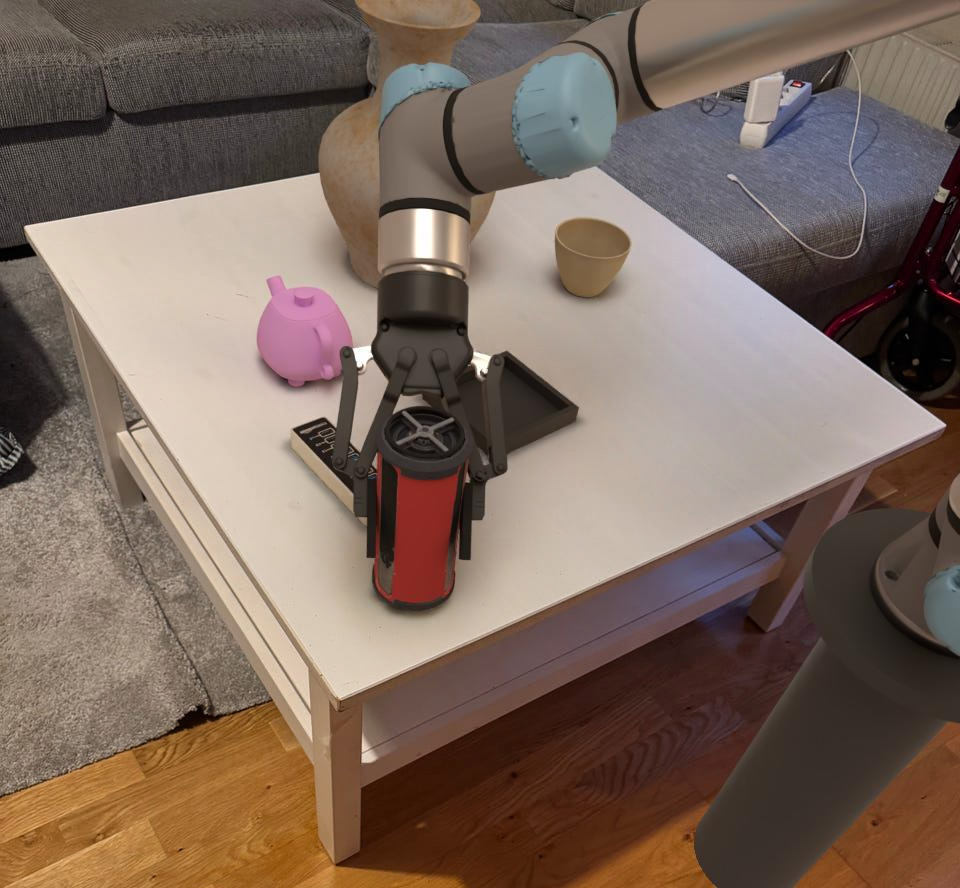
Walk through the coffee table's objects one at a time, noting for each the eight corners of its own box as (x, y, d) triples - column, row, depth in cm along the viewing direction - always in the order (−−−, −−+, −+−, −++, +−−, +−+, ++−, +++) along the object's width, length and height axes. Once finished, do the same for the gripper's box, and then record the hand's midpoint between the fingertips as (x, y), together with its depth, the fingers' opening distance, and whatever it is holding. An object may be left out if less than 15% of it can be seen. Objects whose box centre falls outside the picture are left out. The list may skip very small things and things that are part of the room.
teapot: (288, 410, 100) (284, 335, 93) (234, 336, 107) (226, 261, 100) (373, 387, 104) (375, 314, 97) (315, 317, 112) (313, 244, 104)
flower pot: (534, 271, 124) (543, 220, 119) (598, 264, 127) (610, 214, 122) (564, 312, 119) (575, 260, 113) (631, 304, 122) (645, 253, 116)
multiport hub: (367, 528, 90) (367, 511, 89) (289, 445, 97) (288, 428, 95) (403, 512, 92) (404, 495, 91) (325, 432, 99) (325, 414, 97)
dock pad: (576, 421, 105) (579, 407, 103) (493, 460, 99) (495, 446, 97) (504, 364, 110) (507, 350, 109) (422, 398, 104) (423, 383, 103)
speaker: (355, 575, 85) (356, 419, 71) (420, 542, 89) (433, 387, 75) (405, 627, 82) (416, 475, 68) (471, 591, 86) (494, 439, 72)
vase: (372, 207, 130) (378, -47, 106) (511, 256, 126) (549, 4, 102) (288, 274, 117) (273, 2, 93) (440, 332, 113) (465, 63, 89)
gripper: (535, 298, 80) (526, 560, 83) (301, 284, 78) (300, 554, 80) (553, 274, 73) (543, 562, 75) (295, 258, 70) (294, 557, 73)
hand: (418, 558), depth 78 cm, fingers closed on speaker, 7 cm apart
